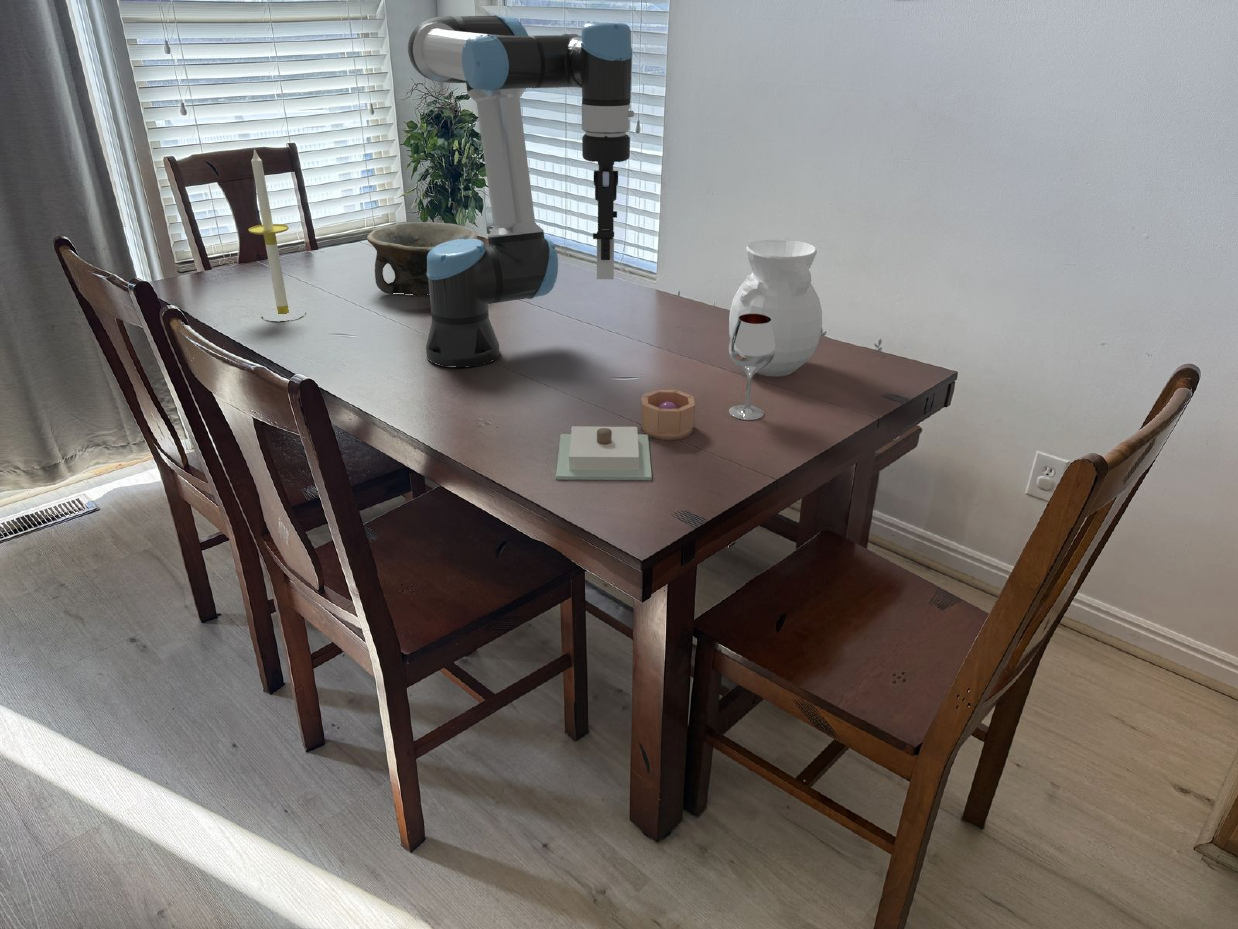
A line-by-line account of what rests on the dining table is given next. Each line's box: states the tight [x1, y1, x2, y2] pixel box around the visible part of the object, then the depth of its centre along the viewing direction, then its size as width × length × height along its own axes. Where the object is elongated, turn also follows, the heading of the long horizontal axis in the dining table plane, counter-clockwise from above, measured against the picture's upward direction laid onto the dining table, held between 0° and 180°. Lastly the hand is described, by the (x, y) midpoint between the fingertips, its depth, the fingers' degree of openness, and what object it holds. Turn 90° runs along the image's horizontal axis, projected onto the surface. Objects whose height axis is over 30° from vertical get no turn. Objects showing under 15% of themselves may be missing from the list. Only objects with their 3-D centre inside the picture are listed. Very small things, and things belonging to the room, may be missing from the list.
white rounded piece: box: [728, 239, 823, 377], centre depth 172 cm, size 19×18×25 cm
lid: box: [569, 425, 639, 471], centre depth 141 cm, size 11×11×4 cm
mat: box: [555, 433, 652, 481], centre depth 142 cm, size 15×15×1 cm
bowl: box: [366, 221, 479, 296], centre depth 219 cm, size 27×26×15 cm
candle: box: [248, 147, 289, 314], centre depth 194 cm, size 10×10×38 cm
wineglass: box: [728, 314, 776, 421], centre depth 154 cm, size 8×8×18 cm
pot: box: [640, 389, 696, 441], centre depth 150 cm, size 9×9×6 cm
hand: (605, 267), depth 145 cm, fingers open, 13 cm apart
